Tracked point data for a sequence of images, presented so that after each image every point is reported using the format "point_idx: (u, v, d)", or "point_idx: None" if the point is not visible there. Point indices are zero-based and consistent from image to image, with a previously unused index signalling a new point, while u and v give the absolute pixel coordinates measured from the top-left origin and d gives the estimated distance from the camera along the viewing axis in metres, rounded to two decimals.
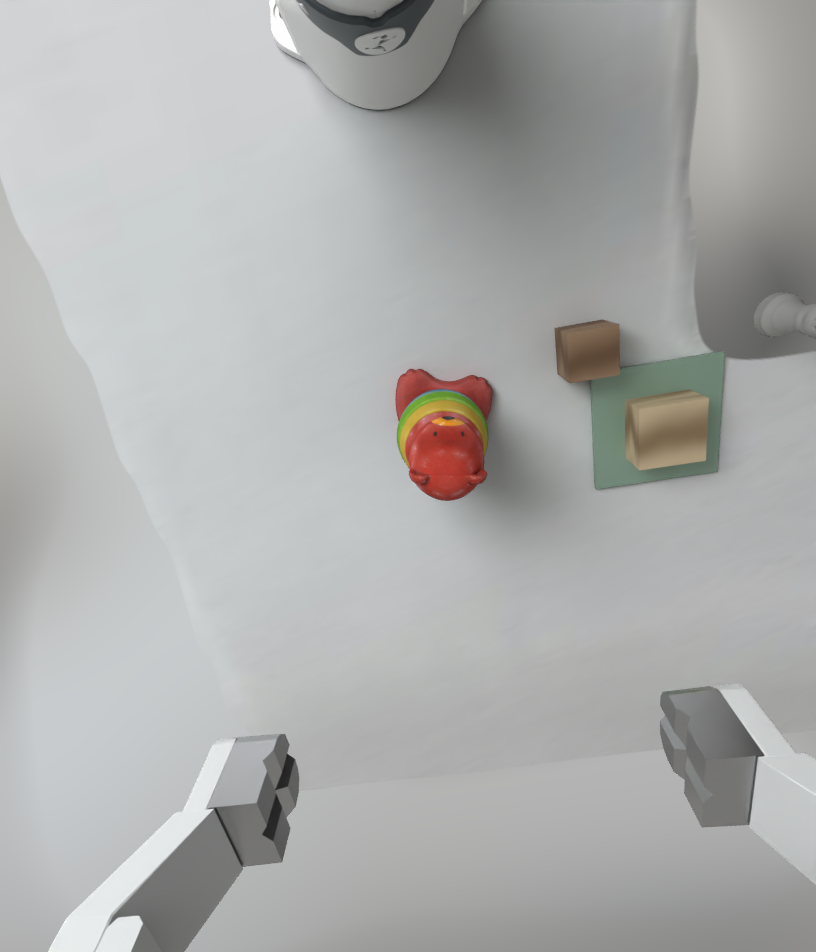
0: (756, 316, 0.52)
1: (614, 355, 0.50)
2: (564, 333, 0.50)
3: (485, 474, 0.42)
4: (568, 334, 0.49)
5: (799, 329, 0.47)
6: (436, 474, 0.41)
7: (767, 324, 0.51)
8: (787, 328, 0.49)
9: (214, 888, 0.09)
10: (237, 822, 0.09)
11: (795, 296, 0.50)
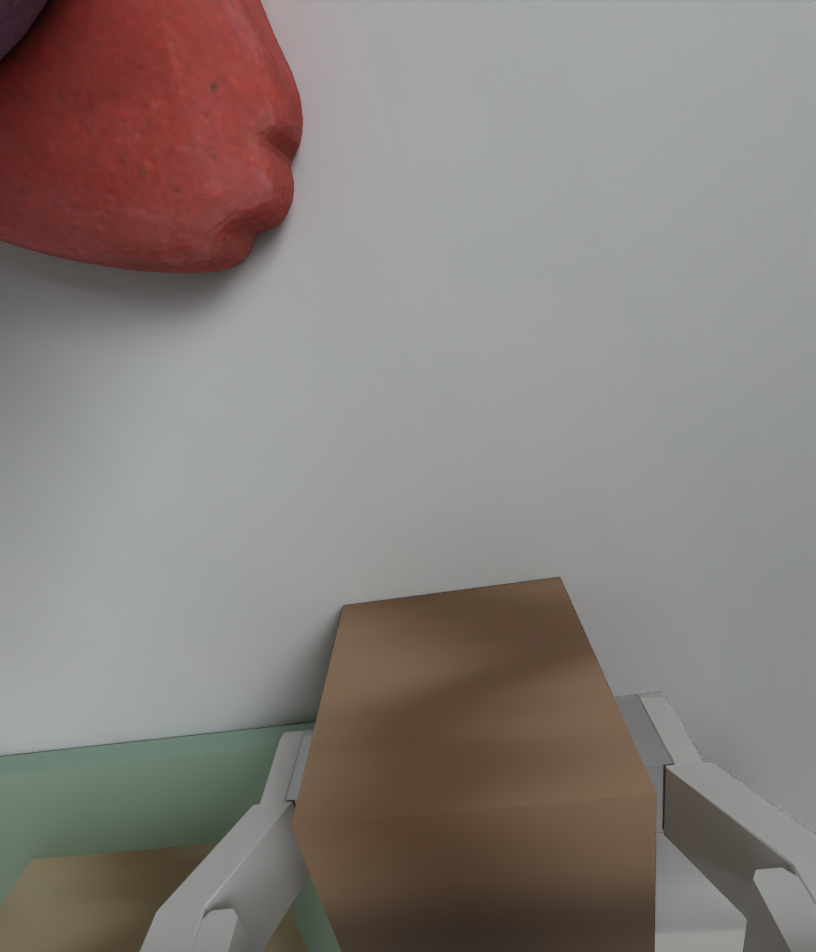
0: None
1: None
2: (620, 732, 0.07)
3: None
4: (646, 802, 0.07)
5: None
6: None
7: None
8: None
9: (292, 882, 0.09)
10: None
11: None
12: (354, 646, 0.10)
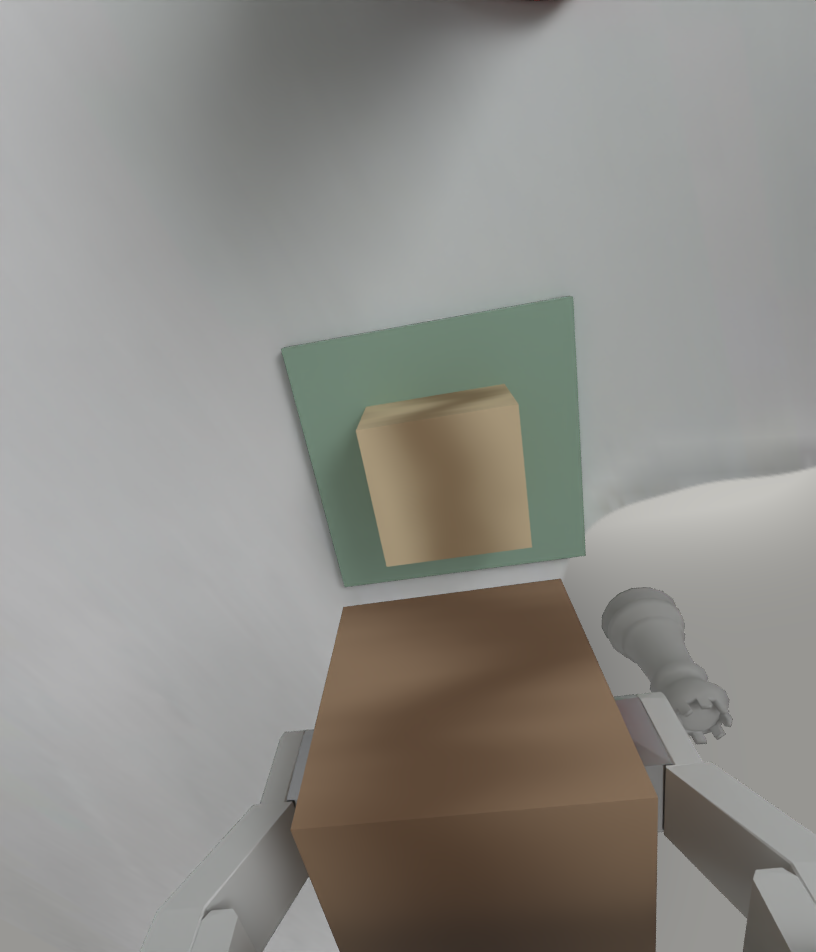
0: (643, 592, 0.29)
1: None
2: (621, 735, 0.07)
3: None
4: (647, 805, 0.07)
5: (664, 672, 0.25)
6: None
7: (639, 613, 0.28)
8: (645, 647, 0.27)
9: (292, 882, 0.09)
10: None
11: None
12: (354, 648, 0.10)
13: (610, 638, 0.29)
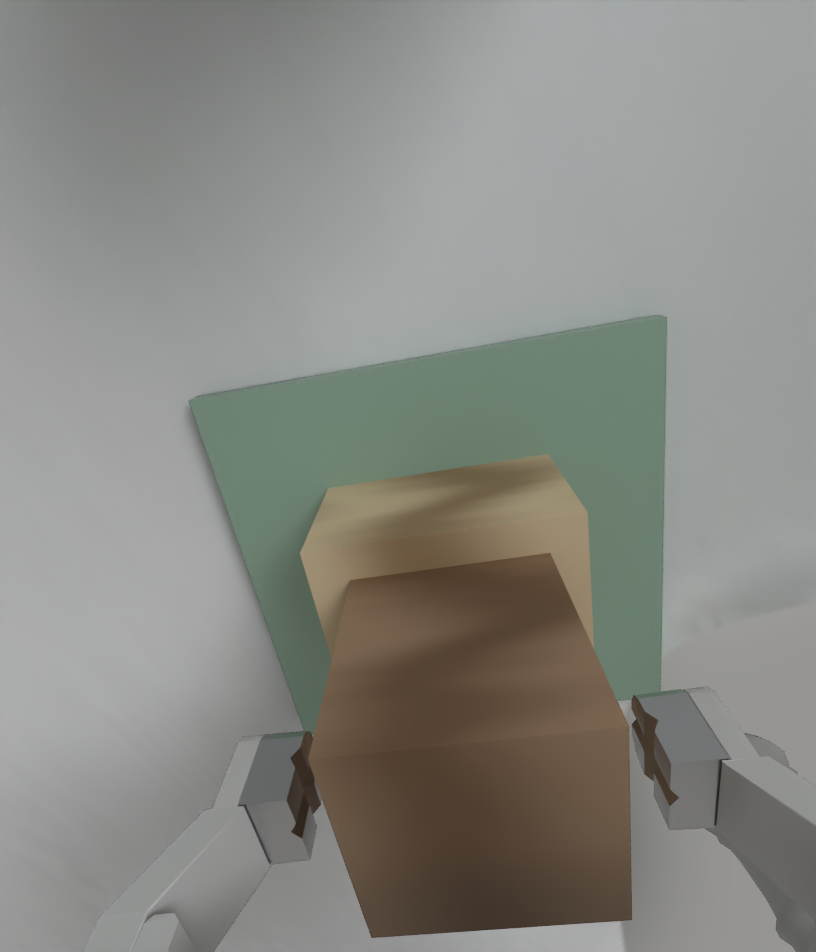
0: None
1: (472, 915, 0.09)
2: (599, 679, 0.08)
3: None
4: (620, 734, 0.08)
5: (802, 911, 0.16)
6: None
7: None
8: None
9: (243, 886, 0.09)
10: (266, 819, 0.09)
11: None
12: (361, 614, 0.11)
13: None
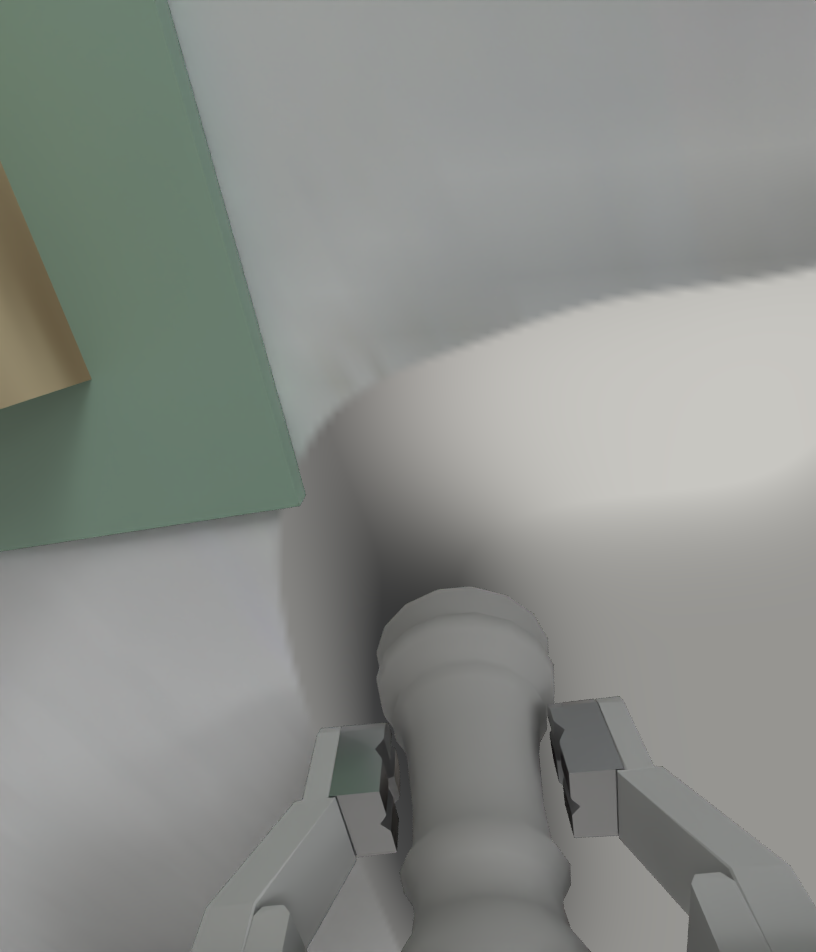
0: (458, 597, 0.12)
1: None
2: None
3: None
4: None
5: (427, 854, 0.08)
6: None
7: (431, 652, 0.11)
8: (421, 752, 0.10)
9: (334, 878, 0.09)
10: (357, 811, 0.09)
11: None
12: None
13: (383, 709, 0.12)
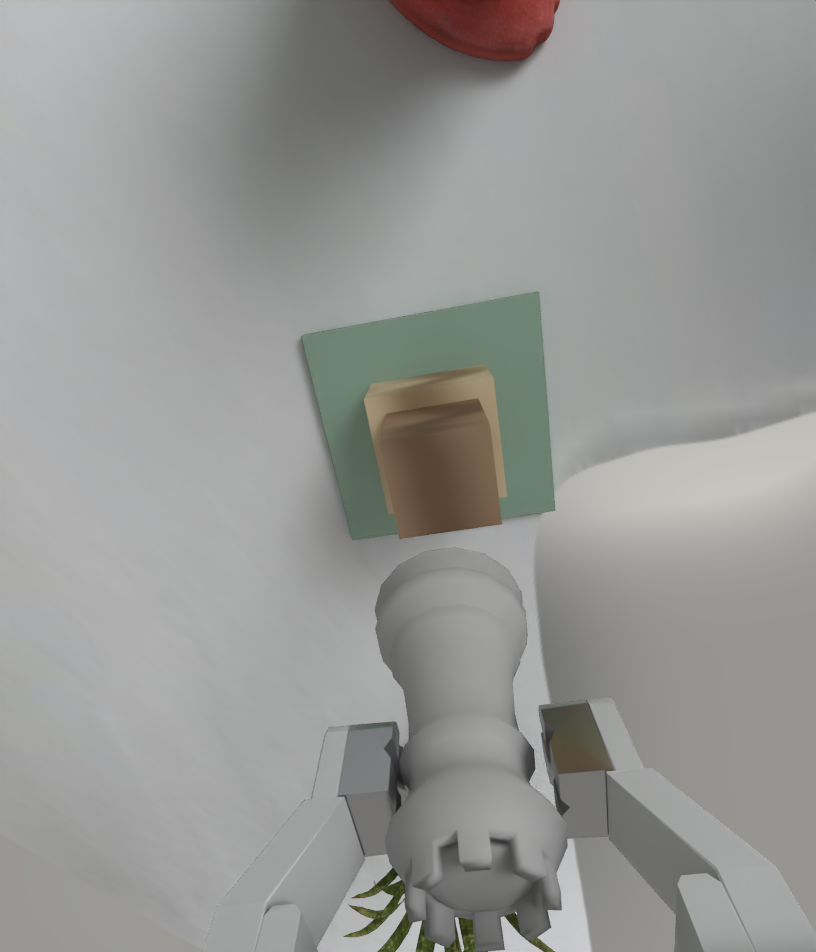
0: (443, 556, 0.14)
1: (439, 523, 0.24)
2: (484, 419, 0.23)
3: None
4: (487, 428, 0.22)
5: (420, 743, 0.10)
6: None
7: (421, 600, 0.13)
8: (414, 677, 0.12)
9: (343, 878, 0.09)
10: (366, 810, 0.09)
11: None
12: (393, 419, 0.26)
13: (382, 655, 0.14)
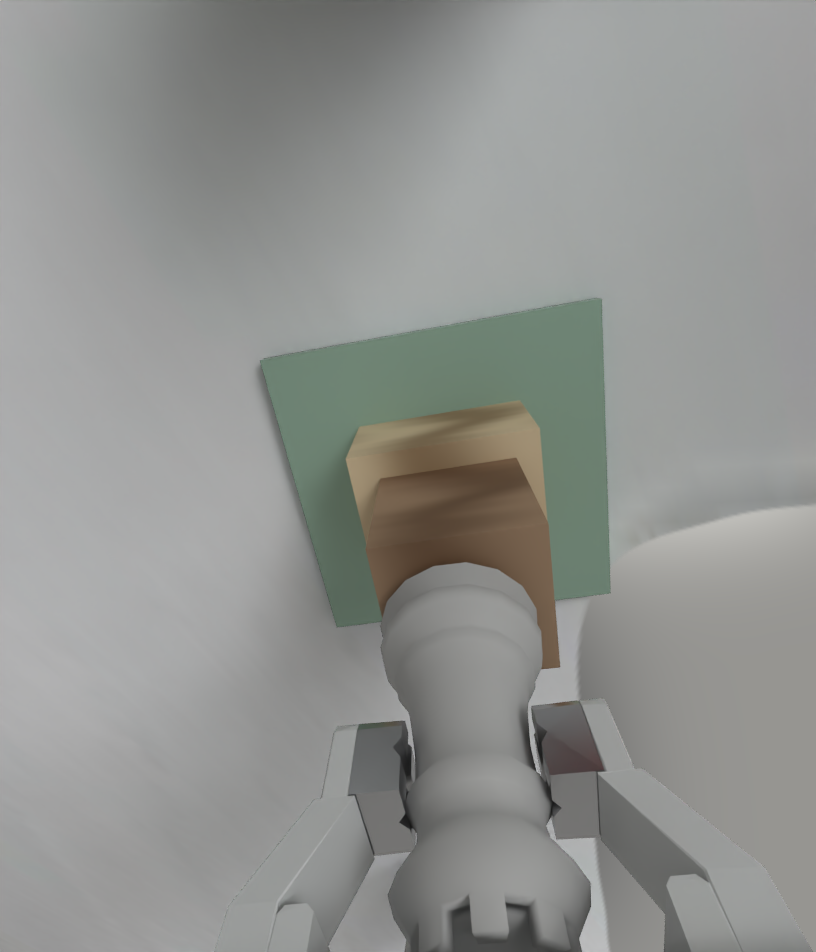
0: (453, 572, 0.13)
1: None
2: (536, 508, 0.14)
3: None
4: (543, 528, 0.13)
5: (428, 784, 0.09)
6: None
7: (429, 619, 0.12)
8: (421, 705, 0.11)
9: (353, 877, 0.09)
10: (376, 809, 0.09)
11: None
12: (389, 493, 0.17)
13: (387, 675, 0.13)
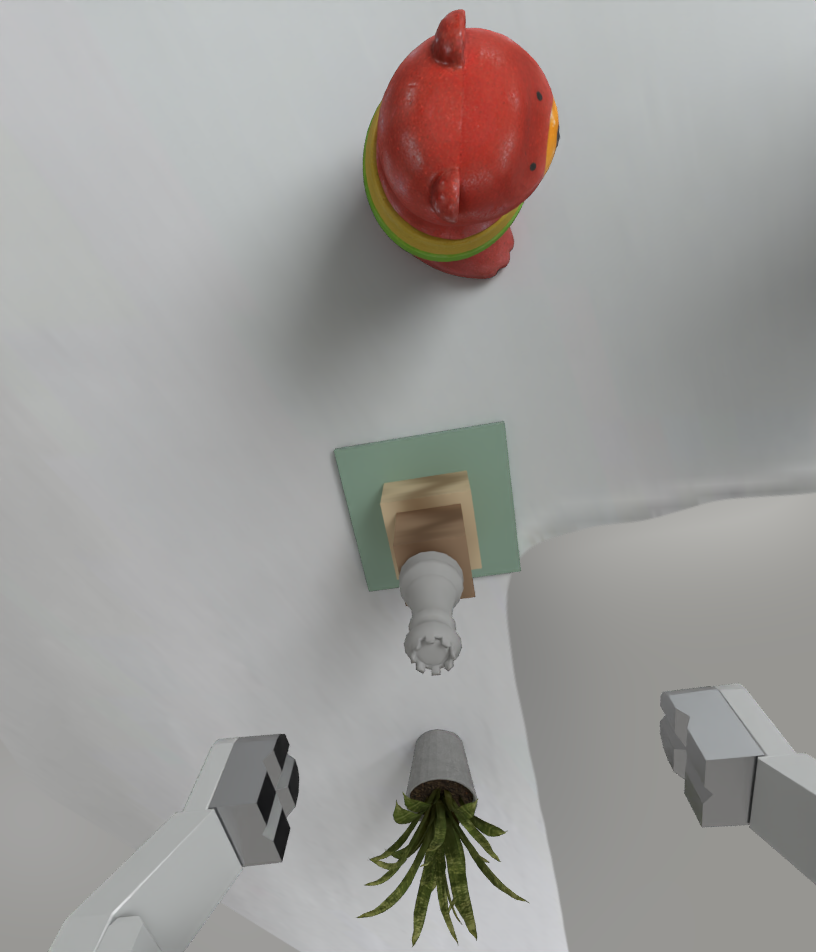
0: (428, 554, 0.33)
1: None
2: (463, 529, 0.34)
3: (456, 217, 0.19)
4: (464, 537, 0.33)
5: (416, 617, 0.29)
6: (464, 84, 0.17)
7: (418, 572, 0.32)
8: (414, 600, 0.31)
9: (214, 888, 0.09)
10: (237, 822, 0.09)
11: (459, 597, 0.33)
12: (401, 520, 0.37)
13: None
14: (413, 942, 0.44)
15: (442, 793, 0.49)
